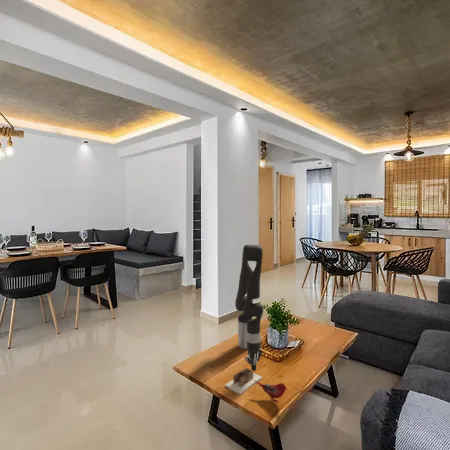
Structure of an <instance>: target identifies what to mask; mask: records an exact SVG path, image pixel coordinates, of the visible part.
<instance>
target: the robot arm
mask: <svg viewBox="0 0 450 450" xmlns="http://www.w3.org/2000/svg"><path fill="white" fill-rule="evenodd" d="M242 248H243V249H242V255H241V256H242V257H241V259H242V260H241V269H240V273H239V281H238V289H237V293H236V298H235V305H234V306H235V309H236V311H237V312H243V313H241V314H239V315H238V317H237V326H238V327H237V328H238V329H237V331H238V332H237V333H238V337H237V339H238V340H237V341H238V342H237V343H238V344H237V345H238V348H239V349H241V350H247V356H244V360H245V361H246V362H247V363H248V364H249V365H250V370H251V371H253V372H256V371H257V364H258V362H259V361H260V359H261V356H262V354H263V350H262V349H261V347H262V346H261V321H262V317H263V314H264V306H263V304H262V303H258V302H257V303H256V302H255V303H254V302H253V301H254V300H257V299H259V298H260V297H261V289H260V288H261V287H260V286H261V274H262V265H263V254H264V253H263V251H264V250H263V247H262V246H261V245H259V244H245V245H244V246H243V247H242ZM249 262H255V267H254V269H252V267H250V264H249ZM253 317H255V318H253Z"/></svg>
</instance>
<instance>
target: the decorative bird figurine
mask: <svg viewBox="0 0 450 450" xmlns="http://www.w3.org/2000/svg"><path fill="white" fill-rule="evenodd" d="M255 382H256V383H255V384H257V385H258V386H260V387H261V388H262V390H263V391H264V392H265V394H267V395H268V396H269V398H270V400H272V401H274V402H280V401H279V400H277V399H280V398H281V397H283V395H284V393H285V392H286V391H288V388H286V387H287V386H286V384H285V383H283V382H279V383H277V384H272V383H271V384H268V383H267V384H266V383H265V384H262V383H260V381H258V382H257V381H255Z"/></svg>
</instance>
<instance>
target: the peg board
mask: <svg viewBox="0 0 450 450" xmlns="http://www.w3.org/2000/svg"><path fill="white" fill-rule="evenodd" d="M242 376H244V375H241V377H242ZM262 379H263V376H261V375H258V374H256V373H254V372H253V379H251V380H250V381H249V382H247V383H246V384H244V385H243V386H242V387H240V386H239V381H238V382H237V383H236V384H234V383H233V379H232V380H230V381H228V382H227V383H226V384H225V385H224V386H225V387H226V388H227V389H229V390H231V391H233V392H235V393H236V394H239V395H241V394H243V393H244V392H246V391H247V390H249V388H251V387H252V386H254V385H256V384H257V383H256V382H255V381H257V382H260V381H261V380H262Z"/></svg>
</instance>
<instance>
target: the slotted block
mask: <svg viewBox="0 0 450 450" xmlns="http://www.w3.org/2000/svg"><path fill="white" fill-rule="evenodd" d="M253 373H254V371H252V370H251V369H248V368H246V367H244V368H243V369H242V370H240V371H238V372H237V373H235V374H234V375H232V376H233V377H232V378H233V379H232V380H233V383H234V384H236V383H237V382H238V381H239V386H240V387H242V386H243V385H244V384H246V383H247V382H249V381H250V380H251V379H253ZM241 375H244V376H242V377H241Z"/></svg>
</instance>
